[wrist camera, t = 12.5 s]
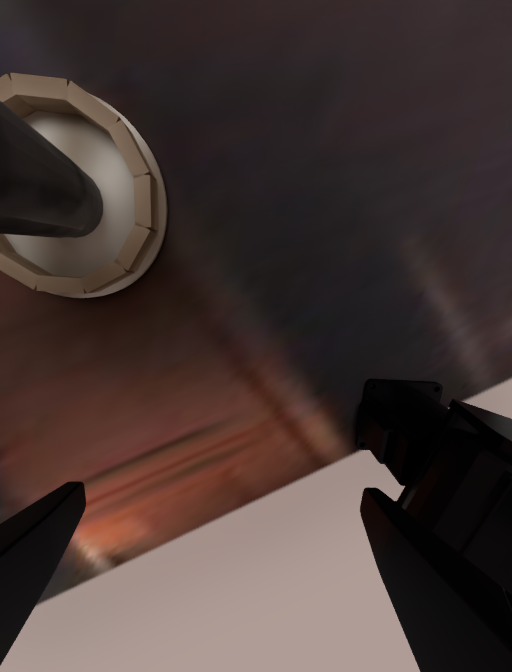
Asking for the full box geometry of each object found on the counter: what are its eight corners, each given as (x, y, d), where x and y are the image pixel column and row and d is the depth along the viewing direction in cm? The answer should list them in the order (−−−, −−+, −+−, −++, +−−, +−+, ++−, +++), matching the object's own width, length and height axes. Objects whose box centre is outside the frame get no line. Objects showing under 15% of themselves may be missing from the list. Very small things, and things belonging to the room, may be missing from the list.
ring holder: (167, 101, 17) (156, 78, 15) (168, 302, 20) (160, 305, 18) (-48, 78, 16) (-89, 50, 14) (-13, 291, 19) (-43, 293, 17)
